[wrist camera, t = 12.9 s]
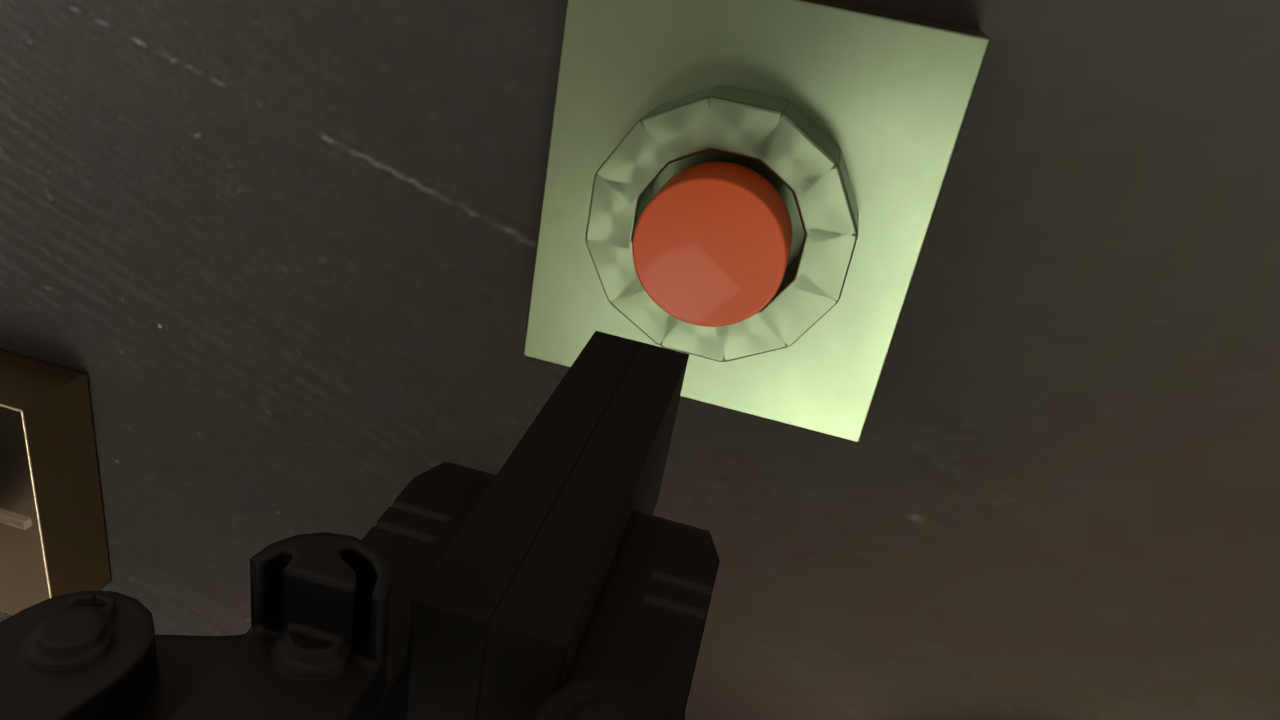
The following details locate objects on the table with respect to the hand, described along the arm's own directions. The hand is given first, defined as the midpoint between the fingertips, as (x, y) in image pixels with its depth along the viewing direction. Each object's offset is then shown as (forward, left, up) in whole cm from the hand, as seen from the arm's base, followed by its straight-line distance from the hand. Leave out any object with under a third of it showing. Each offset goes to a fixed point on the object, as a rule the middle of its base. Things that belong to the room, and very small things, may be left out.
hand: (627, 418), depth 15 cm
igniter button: (0, 0, -9) cm, 9 cm away
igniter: (0, 0, -13) cm, 13 cm away
